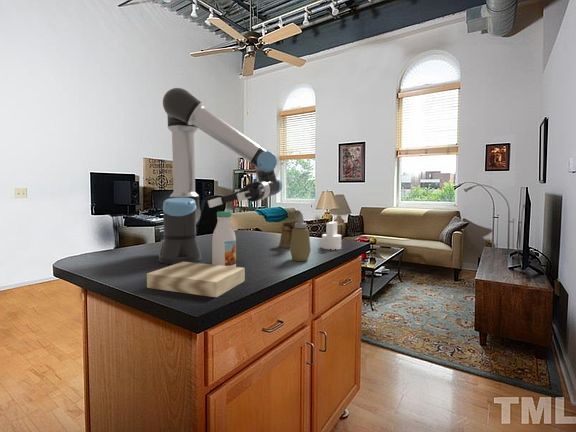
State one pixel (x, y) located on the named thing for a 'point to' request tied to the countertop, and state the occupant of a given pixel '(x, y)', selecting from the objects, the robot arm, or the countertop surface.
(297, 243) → the squeeze bottle
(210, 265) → the board
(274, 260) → the countertop surface
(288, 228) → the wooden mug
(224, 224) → the milk bottle
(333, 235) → the white tiered cake
